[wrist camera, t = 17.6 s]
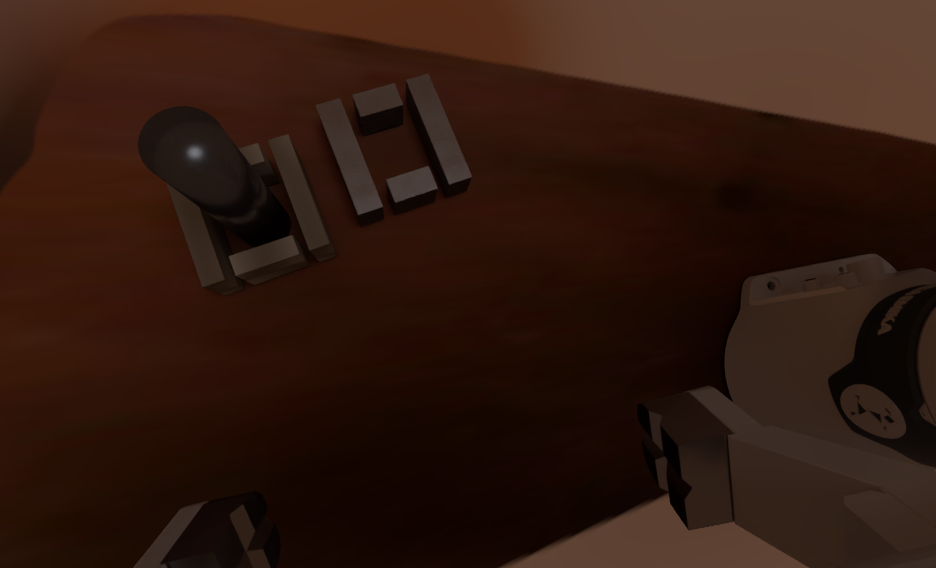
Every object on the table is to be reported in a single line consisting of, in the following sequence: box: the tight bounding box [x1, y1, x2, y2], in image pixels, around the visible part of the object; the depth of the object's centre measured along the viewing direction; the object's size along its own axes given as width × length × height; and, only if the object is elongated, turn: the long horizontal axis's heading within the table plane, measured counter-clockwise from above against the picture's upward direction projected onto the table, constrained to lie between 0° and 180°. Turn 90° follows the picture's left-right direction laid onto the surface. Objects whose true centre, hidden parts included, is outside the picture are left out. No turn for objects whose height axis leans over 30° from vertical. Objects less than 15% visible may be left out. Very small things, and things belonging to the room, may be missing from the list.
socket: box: [316, 74, 472, 226], centre depth 37 cm, size 10×10×3 cm
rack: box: [167, 135, 337, 295], centre depth 34 cm, size 9×9×4 cm
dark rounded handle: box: [138, 106, 290, 247], centre depth 29 cm, size 4×4×14 cm
